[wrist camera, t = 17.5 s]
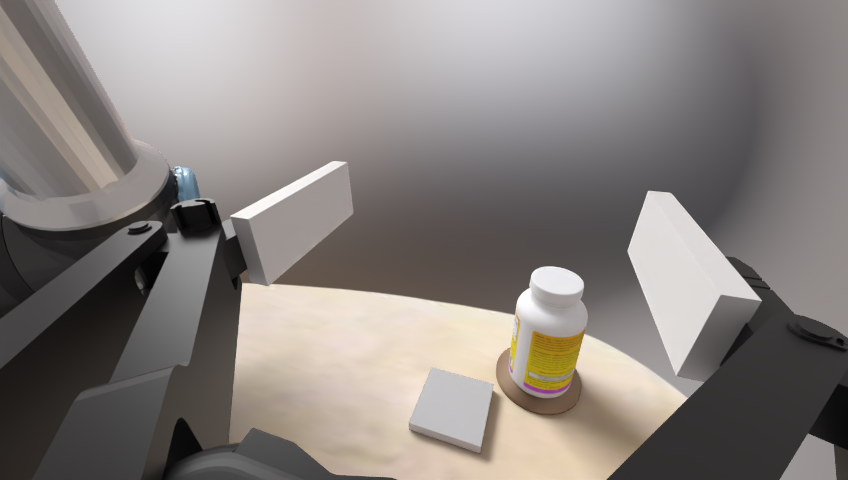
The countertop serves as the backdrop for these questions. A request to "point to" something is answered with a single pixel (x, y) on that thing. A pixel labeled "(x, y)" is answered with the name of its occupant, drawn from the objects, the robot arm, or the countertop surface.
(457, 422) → the tile
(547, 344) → the supplement bottle
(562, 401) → the coaster
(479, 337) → the countertop surface
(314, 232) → the robot arm
